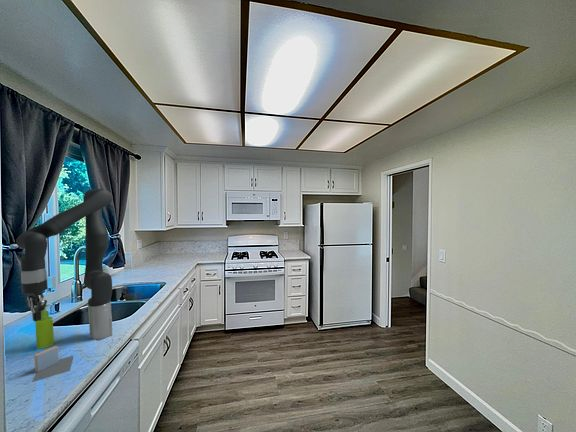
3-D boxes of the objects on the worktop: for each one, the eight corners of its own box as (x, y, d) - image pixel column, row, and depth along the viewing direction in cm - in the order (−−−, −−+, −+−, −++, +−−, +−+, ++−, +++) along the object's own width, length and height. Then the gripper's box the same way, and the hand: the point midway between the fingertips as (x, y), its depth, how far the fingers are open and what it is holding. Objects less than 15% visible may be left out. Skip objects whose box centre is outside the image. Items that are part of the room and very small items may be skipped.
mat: (73, 356, 111) (73, 355, 111) (70, 371, 101) (69, 370, 101) (39, 366, 105) (39, 364, 105) (31, 383, 95) (31, 382, 95)
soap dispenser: (35, 345, 119) (32, 305, 118) (55, 341, 123) (52, 301, 122) (32, 352, 115) (29, 309, 113) (52, 346, 119) (50, 306, 117)
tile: (35, 371, 101) (34, 354, 100) (57, 361, 107) (56, 345, 107) (37, 372, 100) (35, 356, 100) (59, 362, 106) (57, 346, 106)
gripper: (14, 280, 103) (17, 321, 104) (29, 285, 98) (32, 327, 99) (38, 275, 110) (41, 313, 111) (54, 279, 104) (56, 319, 105)
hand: (37, 320), depth 105 cm, fingers closed
